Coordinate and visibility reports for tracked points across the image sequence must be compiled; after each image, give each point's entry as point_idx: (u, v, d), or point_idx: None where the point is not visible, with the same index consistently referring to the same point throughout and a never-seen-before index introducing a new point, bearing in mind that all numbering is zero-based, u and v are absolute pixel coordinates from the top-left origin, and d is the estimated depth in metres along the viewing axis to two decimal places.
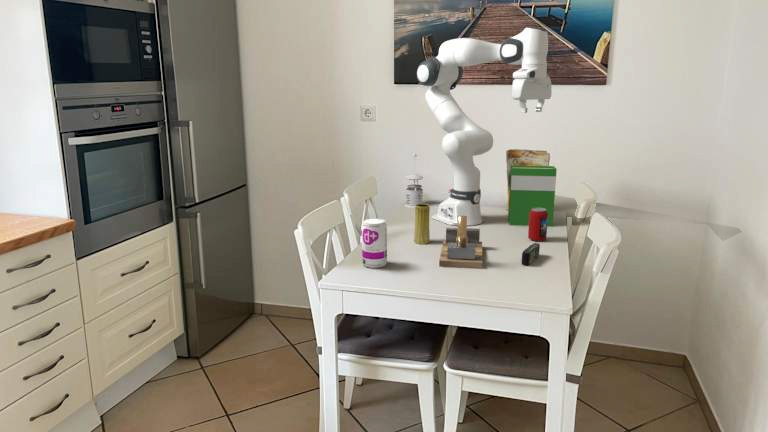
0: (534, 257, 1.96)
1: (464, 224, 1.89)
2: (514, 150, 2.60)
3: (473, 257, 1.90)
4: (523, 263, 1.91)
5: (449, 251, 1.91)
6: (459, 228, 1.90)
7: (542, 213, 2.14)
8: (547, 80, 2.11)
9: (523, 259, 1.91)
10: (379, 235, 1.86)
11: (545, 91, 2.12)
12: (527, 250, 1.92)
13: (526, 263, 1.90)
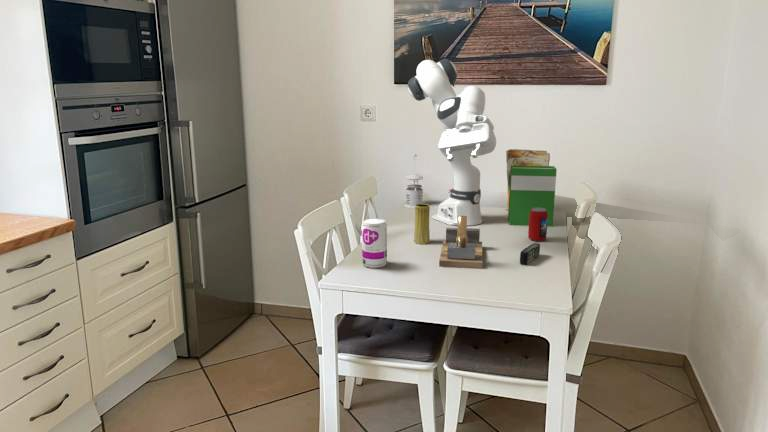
0: (534, 257, 1.96)
1: (464, 224, 1.89)
2: (514, 150, 2.60)
3: (473, 257, 1.90)
4: (521, 263, 1.91)
5: (449, 251, 1.91)
6: (459, 228, 1.90)
7: (542, 213, 2.14)
8: None
9: (521, 259, 1.91)
10: (379, 235, 1.86)
11: None
12: (525, 250, 1.92)
13: (524, 263, 1.91)
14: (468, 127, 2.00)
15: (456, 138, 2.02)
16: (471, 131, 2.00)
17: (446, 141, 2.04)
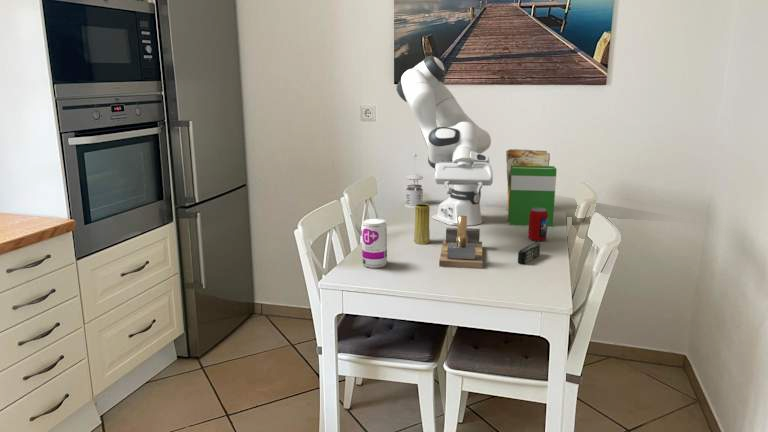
0: (533, 257, 1.97)
1: (464, 224, 1.89)
2: (514, 150, 2.60)
3: (473, 257, 1.90)
4: (519, 262, 1.92)
5: (449, 251, 1.91)
6: (459, 228, 1.90)
7: (542, 213, 2.14)
8: None
9: (519, 258, 1.92)
10: (379, 235, 1.86)
11: None
12: (524, 249, 1.93)
13: (522, 262, 1.92)
14: (469, 163, 2.03)
15: (455, 172, 2.03)
16: (471, 168, 2.03)
17: (444, 173, 2.03)
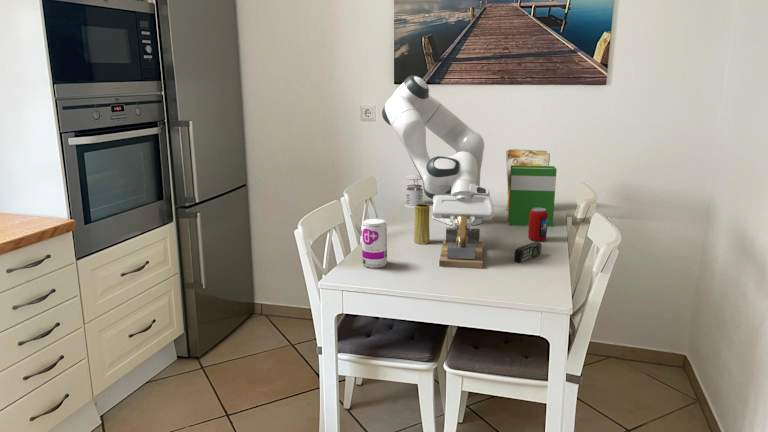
0: (531, 256, 1.98)
1: (464, 224, 1.89)
2: (514, 150, 2.60)
3: (473, 257, 1.90)
4: (515, 260, 1.94)
5: (449, 251, 1.91)
6: (459, 228, 1.90)
7: (542, 213, 2.14)
8: None
9: (515, 256, 1.94)
10: (379, 235, 1.86)
11: None
12: (521, 248, 1.95)
13: (517, 260, 1.93)
14: (468, 197, 1.93)
15: (454, 206, 1.93)
16: (471, 201, 1.94)
17: (443, 207, 1.93)
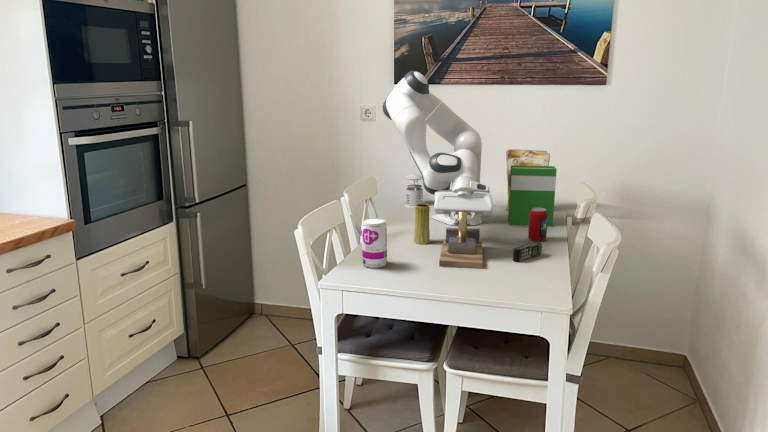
0: (531, 255, 1.98)
1: (465, 219, 1.95)
2: (514, 150, 2.60)
3: (473, 251, 1.96)
4: (513, 259, 1.95)
5: (450, 246, 1.96)
6: (460, 223, 1.96)
7: (542, 212, 2.14)
8: None
9: (513, 255, 1.95)
10: (379, 235, 1.86)
11: None
12: (520, 247, 1.95)
13: (516, 259, 1.94)
14: (469, 193, 1.99)
15: (455, 202, 1.99)
16: (471, 197, 2.00)
17: (444, 203, 1.99)
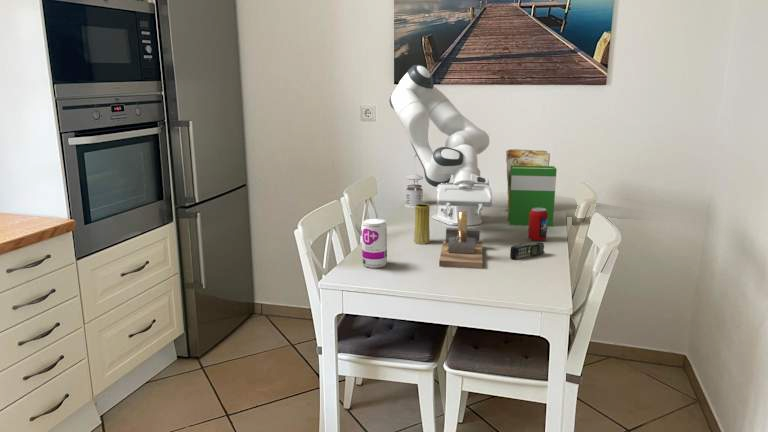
0: (530, 254, 1.99)
1: (465, 219, 1.95)
2: (514, 150, 2.60)
3: (473, 251, 1.96)
4: (510, 257, 1.98)
5: (450, 246, 1.97)
6: (460, 223, 1.96)
7: (542, 212, 2.14)
8: None
9: (510, 253, 1.97)
10: (379, 235, 1.86)
11: None
12: (517, 245, 1.97)
13: (512, 257, 1.97)
14: (469, 185, 2.12)
15: (456, 194, 2.12)
16: (471, 190, 2.12)
17: (446, 195, 2.12)
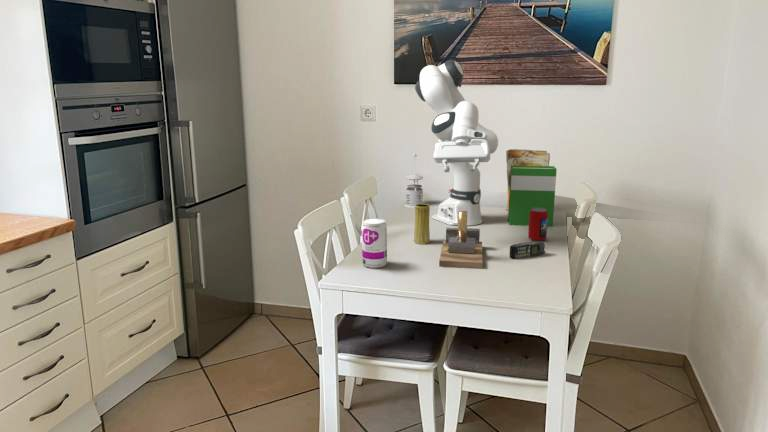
0: (530, 254, 2.00)
1: (465, 219, 1.95)
2: (514, 150, 2.60)
3: (473, 251, 1.96)
4: None
5: (450, 246, 1.97)
6: (460, 223, 1.96)
7: (542, 213, 2.14)
8: None
9: None
10: (379, 235, 1.86)
11: None
12: (517, 244, 1.98)
13: (511, 256, 1.97)
14: (466, 141, 2.06)
15: (453, 150, 2.07)
16: (469, 145, 2.06)
17: (443, 152, 2.08)
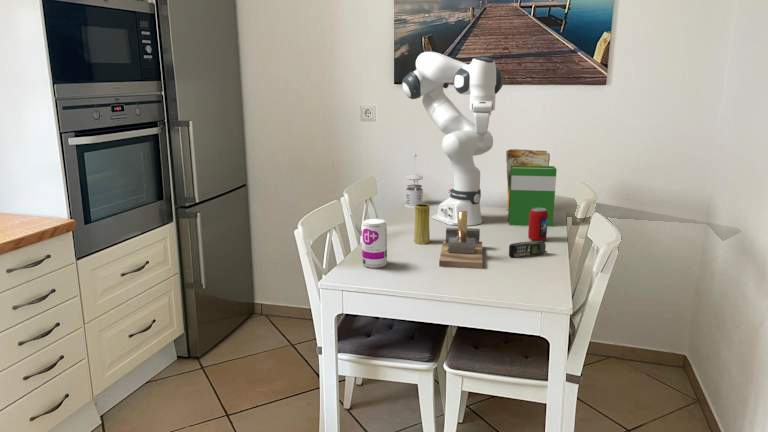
0: (530, 253, 2.00)
1: (465, 219, 1.95)
2: (514, 150, 2.60)
3: (473, 251, 1.96)
4: (509, 254, 2.00)
5: (450, 246, 1.97)
6: (460, 223, 1.96)
7: (542, 213, 2.14)
8: None
9: (509, 250, 1.99)
10: (379, 235, 1.86)
11: None
12: (516, 243, 1.99)
13: (510, 255, 1.99)
14: (474, 113, 2.01)
15: None
16: None
17: None
